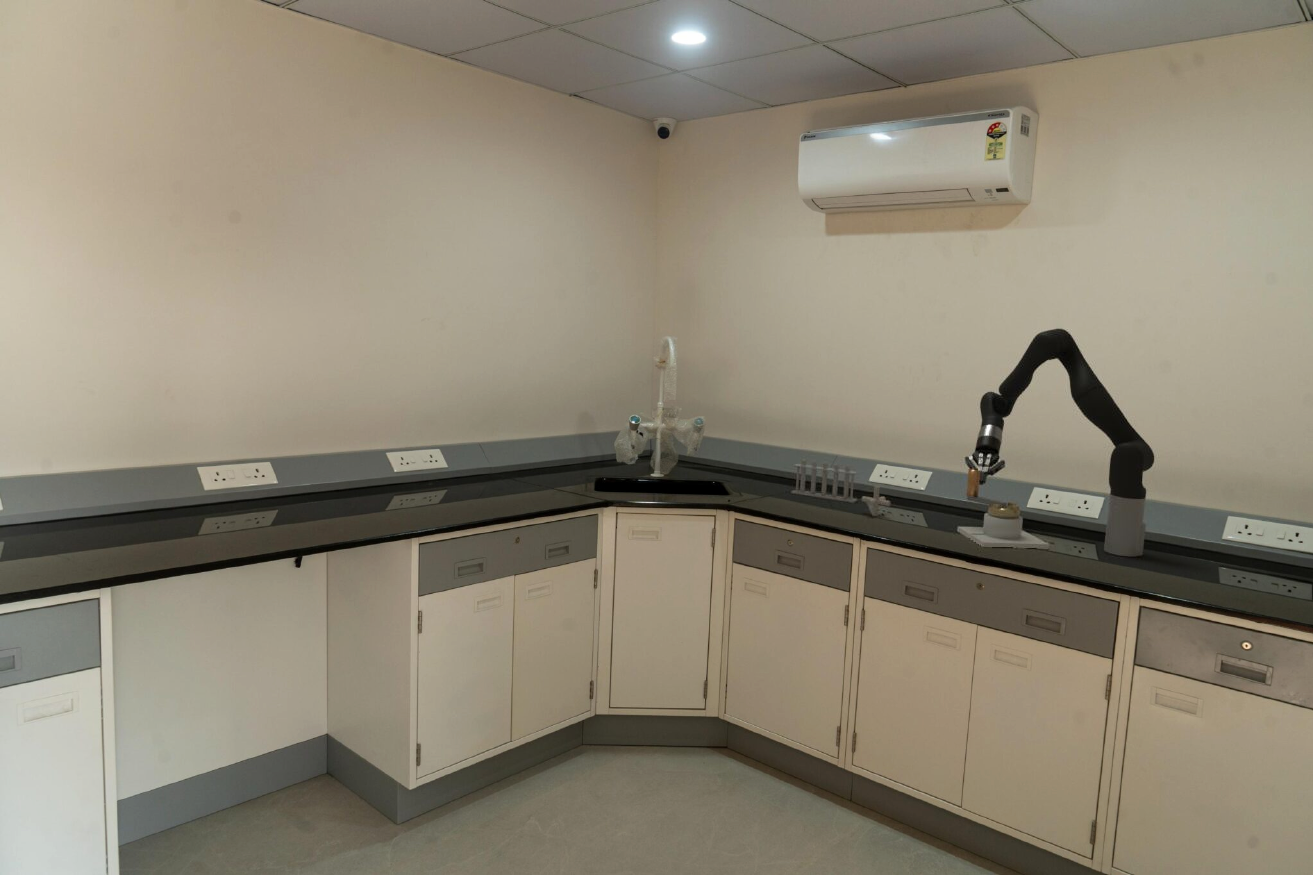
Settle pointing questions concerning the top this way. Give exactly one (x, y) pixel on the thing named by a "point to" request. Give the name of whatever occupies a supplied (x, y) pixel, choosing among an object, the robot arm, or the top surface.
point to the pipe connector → (876, 501)
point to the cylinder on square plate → (1002, 534)
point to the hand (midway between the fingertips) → (980, 483)
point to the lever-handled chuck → (995, 506)
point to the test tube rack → (825, 481)
